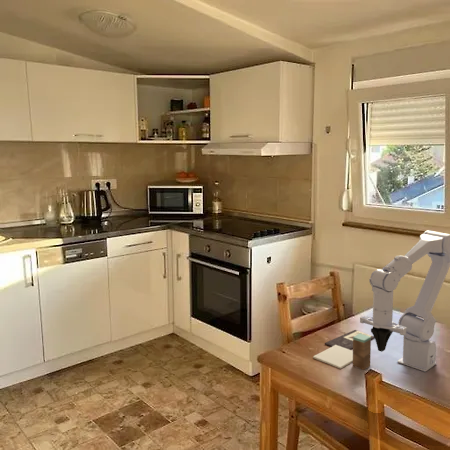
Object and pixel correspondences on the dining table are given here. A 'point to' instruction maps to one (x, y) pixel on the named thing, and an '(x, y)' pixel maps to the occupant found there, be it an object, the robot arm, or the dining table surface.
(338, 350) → the thin cream panel
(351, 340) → the chocolate bar
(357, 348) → the walnut block
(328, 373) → the dining table surface
